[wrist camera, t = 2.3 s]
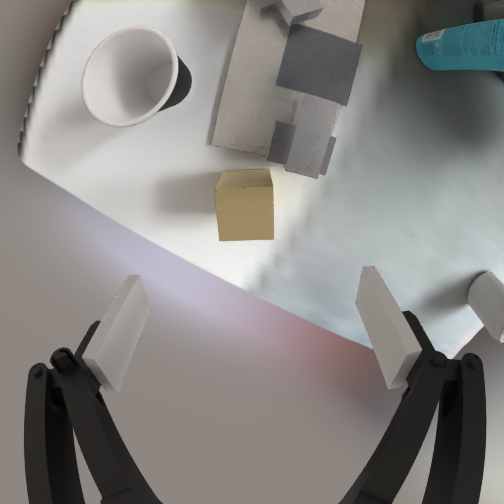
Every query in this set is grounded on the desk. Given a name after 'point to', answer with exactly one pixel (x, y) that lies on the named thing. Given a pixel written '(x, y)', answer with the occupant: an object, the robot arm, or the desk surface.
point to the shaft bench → (290, 81)
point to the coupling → (245, 205)
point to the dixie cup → (133, 77)
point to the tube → (464, 47)
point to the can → (488, 303)
